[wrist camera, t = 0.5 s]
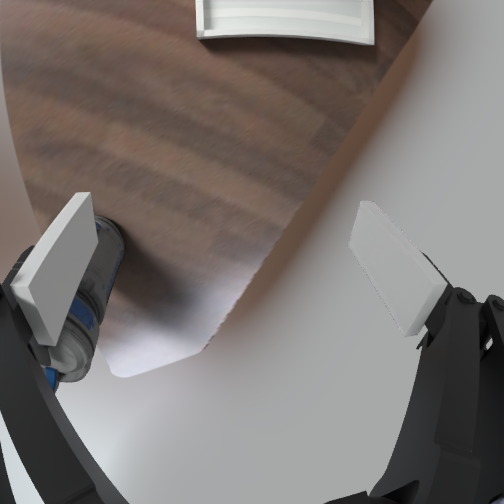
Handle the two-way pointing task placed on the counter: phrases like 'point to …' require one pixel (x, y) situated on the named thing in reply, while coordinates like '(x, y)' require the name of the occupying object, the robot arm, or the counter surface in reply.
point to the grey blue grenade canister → (84, 311)
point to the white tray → (287, 19)
